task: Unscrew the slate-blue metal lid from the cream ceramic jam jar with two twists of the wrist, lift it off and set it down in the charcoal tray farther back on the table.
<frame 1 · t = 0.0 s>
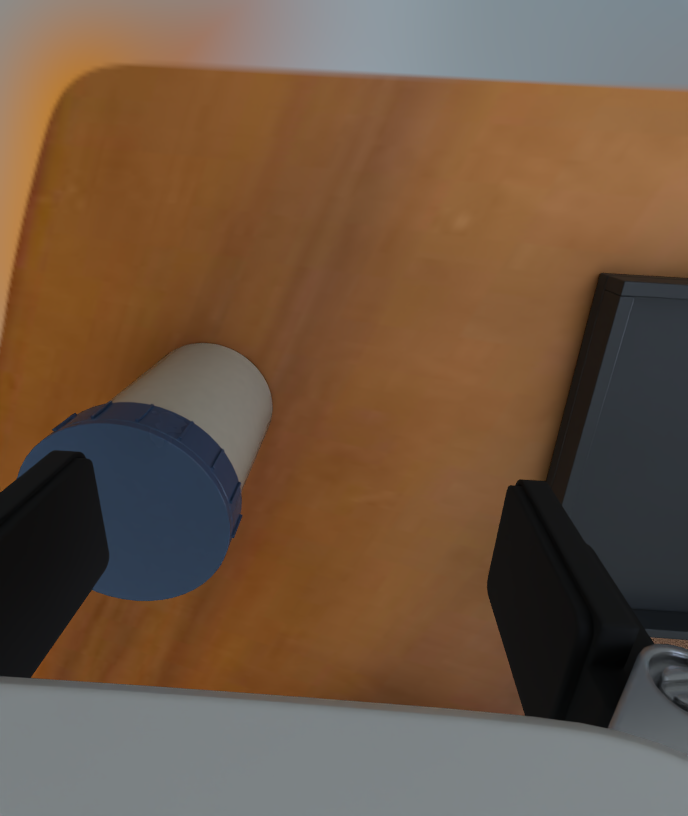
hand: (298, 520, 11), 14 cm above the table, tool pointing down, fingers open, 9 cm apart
jar lid: (127, 514, 16), point 10 cm above the table, screwed on, not yet turned
tray: (687, 468, 25), on the table
jar: (211, 402, 25), on the table
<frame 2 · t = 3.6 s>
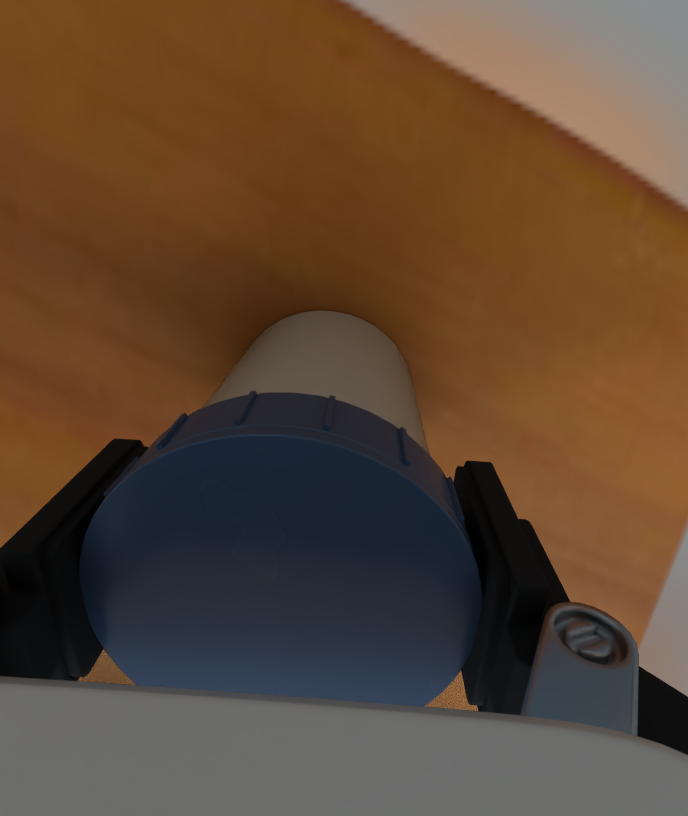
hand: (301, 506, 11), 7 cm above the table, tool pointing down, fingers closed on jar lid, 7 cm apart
jar lid: (281, 600, 9), point 10 cm above the table, screwed on, not yet turned, touching gripper
jar: (324, 398, 18), on the table
when the fingers open (6 cm above the table, at t = 5.9 s): jar lid stays where it is, point 10 cm above the table.
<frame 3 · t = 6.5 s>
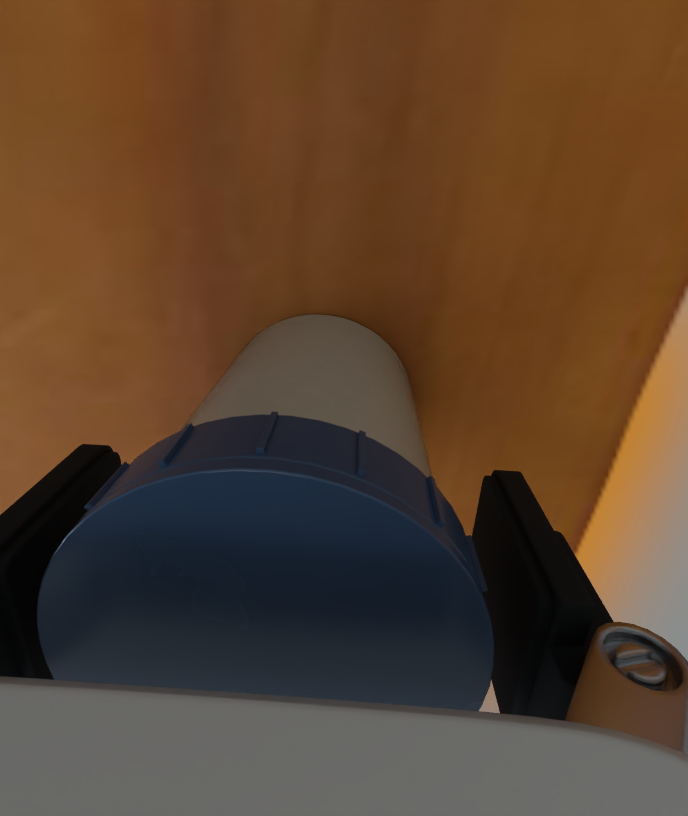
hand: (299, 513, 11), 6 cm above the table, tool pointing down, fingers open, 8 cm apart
jar lid: (268, 648, 8), point 10 cm above the table, turned 84° so far, risen 0.2 cm, still on its thread
jar: (319, 405, 17), on the table
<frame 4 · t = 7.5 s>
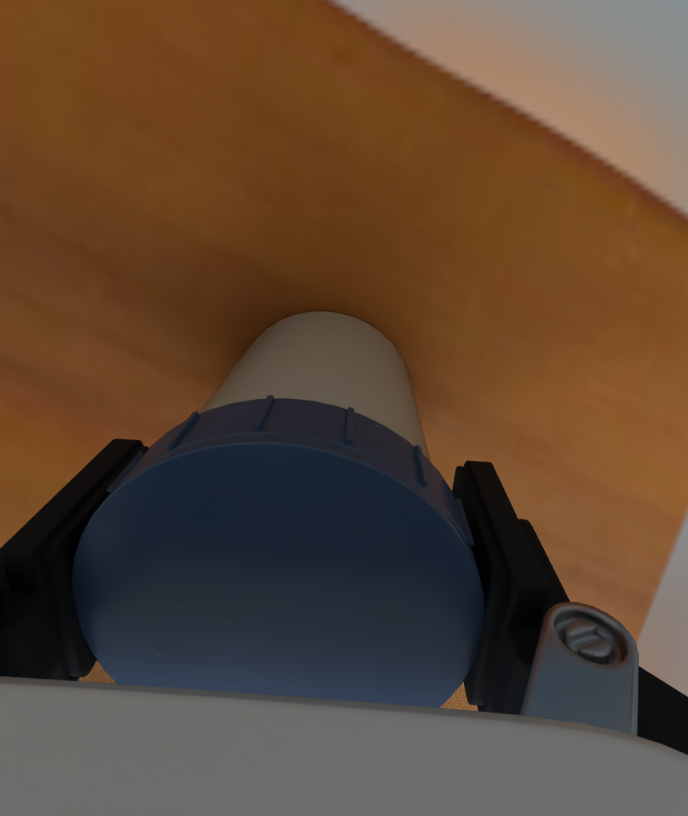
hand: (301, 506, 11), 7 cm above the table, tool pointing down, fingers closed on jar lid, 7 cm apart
jar lid: (279, 611, 9), point 10 cm above the table, turned 84° so far, risen 0.2 cm, still on its thread, touching gripper
jar: (323, 398, 18), on the table
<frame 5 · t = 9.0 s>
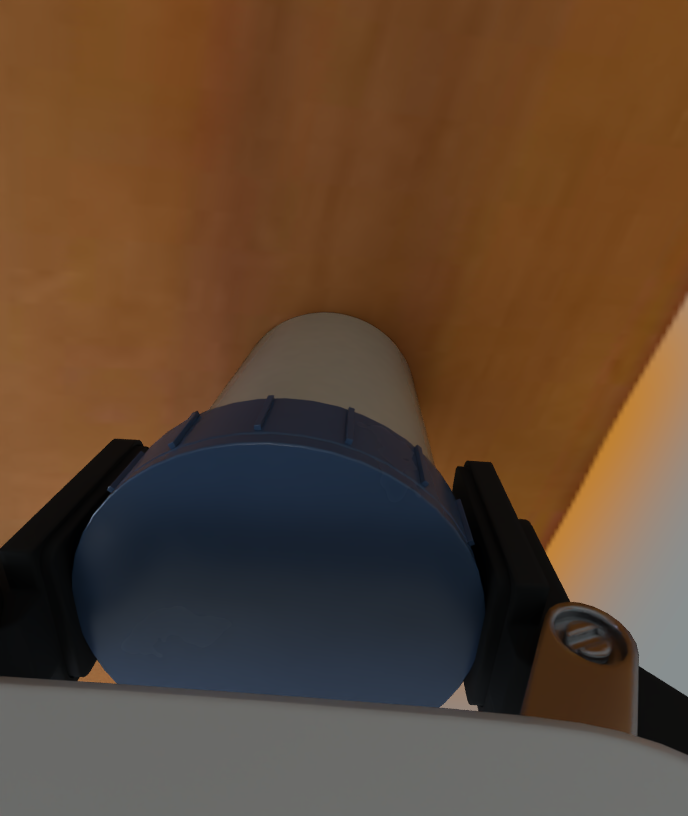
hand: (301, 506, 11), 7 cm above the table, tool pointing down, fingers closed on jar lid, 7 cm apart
jar lid: (279, 611, 9), point 10 cm above the table, off its thread, touching gripper
jar: (327, 398, 18), on the table
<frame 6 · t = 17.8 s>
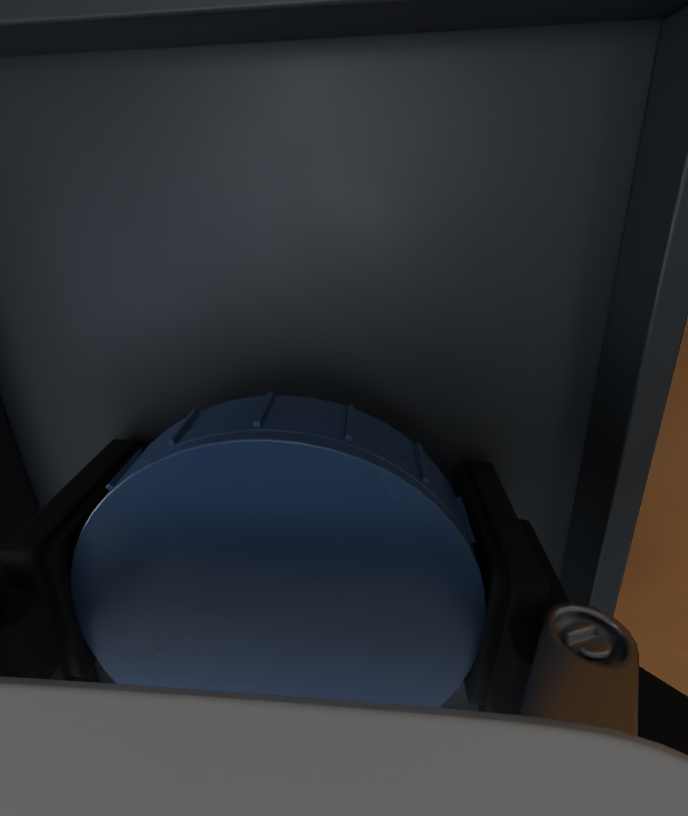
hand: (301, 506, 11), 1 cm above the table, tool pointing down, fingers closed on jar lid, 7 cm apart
jar lid: (279, 609, 9), point 4 cm above the table, off its thread, touching gripper
tray: (302, 480, 12), on the table
when the fingers open (2 cm above the table, at t = 27.4 s): jar lid drops 3 cm, resting on tray.
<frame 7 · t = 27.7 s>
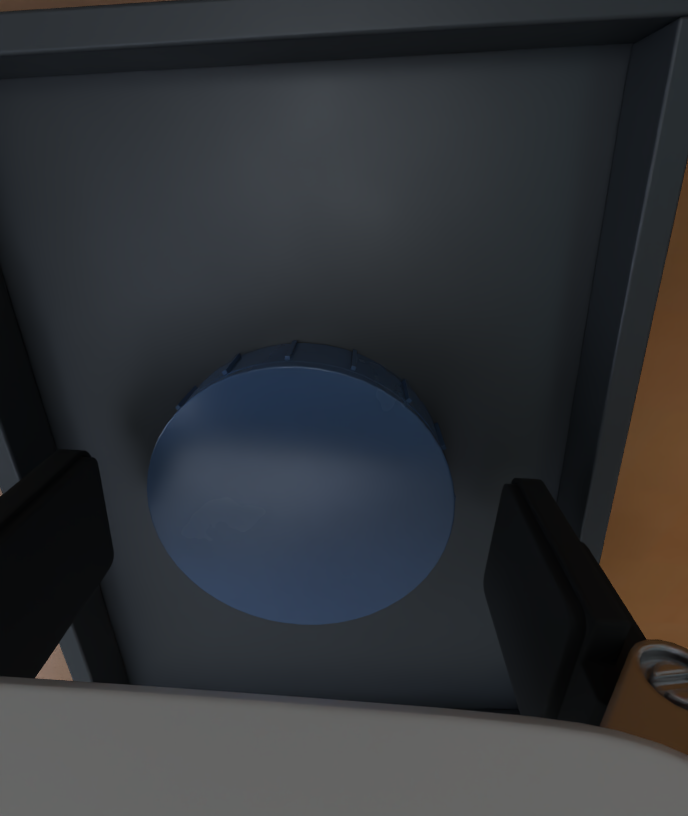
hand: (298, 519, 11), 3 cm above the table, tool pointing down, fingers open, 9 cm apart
jar lid: (301, 504, 11), point 2 cm above the table, off its thread, touching tray
tray: (310, 460, 13), on the table
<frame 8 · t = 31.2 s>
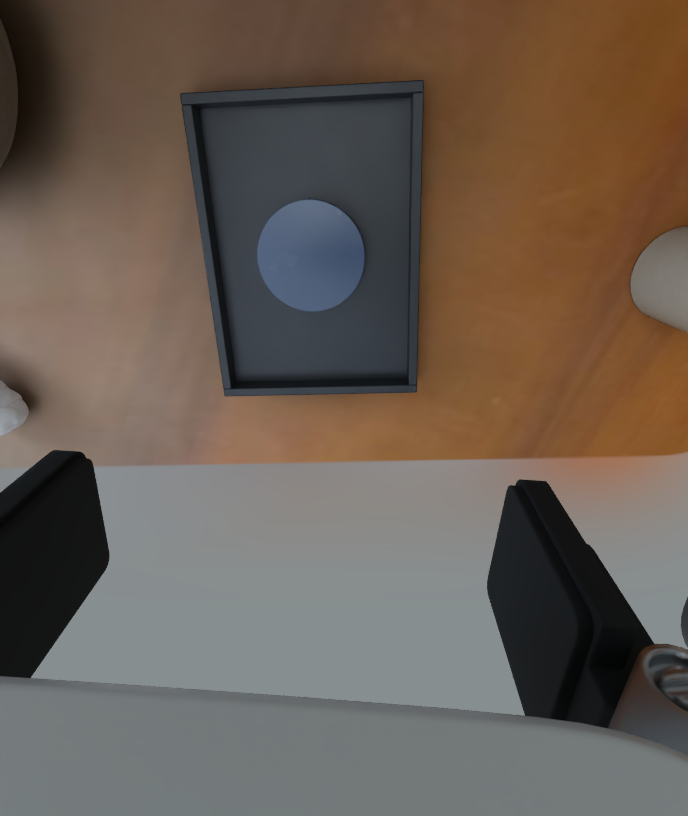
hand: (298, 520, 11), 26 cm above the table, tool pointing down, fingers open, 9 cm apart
jar lid: (311, 257, 32), point 2 cm above the table, off its thread, touching tray
garlic bulb: (0, 382, 39), on the table
tray: (314, 255, 34), on the table
jar: (678, 274, 33), on the table
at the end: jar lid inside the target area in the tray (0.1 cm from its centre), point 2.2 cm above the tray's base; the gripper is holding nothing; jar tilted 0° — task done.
